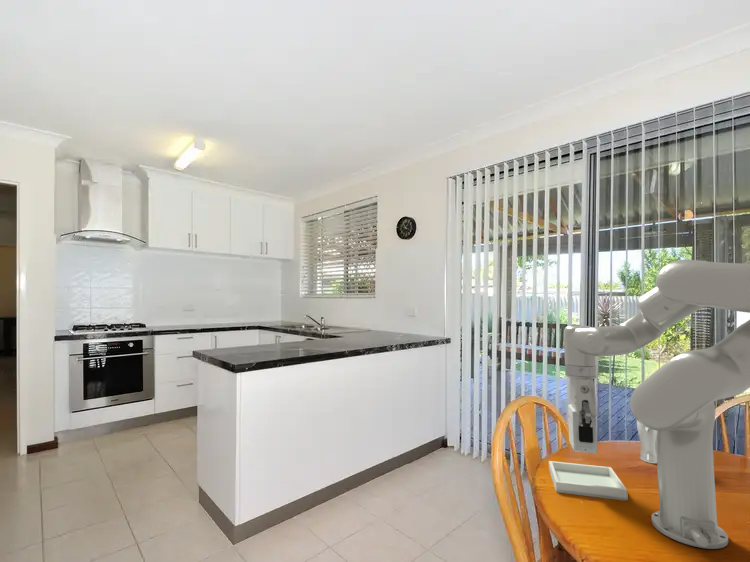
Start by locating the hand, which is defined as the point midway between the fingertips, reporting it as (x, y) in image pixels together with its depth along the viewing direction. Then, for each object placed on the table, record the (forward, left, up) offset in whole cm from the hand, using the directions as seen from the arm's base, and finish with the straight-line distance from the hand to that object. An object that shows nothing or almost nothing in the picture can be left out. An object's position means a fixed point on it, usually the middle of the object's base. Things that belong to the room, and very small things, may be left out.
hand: (582, 436), depth 105 cm
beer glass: (+23, -23, -13) cm, 35 cm away
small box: (0, 0, -3) cm, 3 cm away
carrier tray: (0, 0, -13) cm, 13 cm away
